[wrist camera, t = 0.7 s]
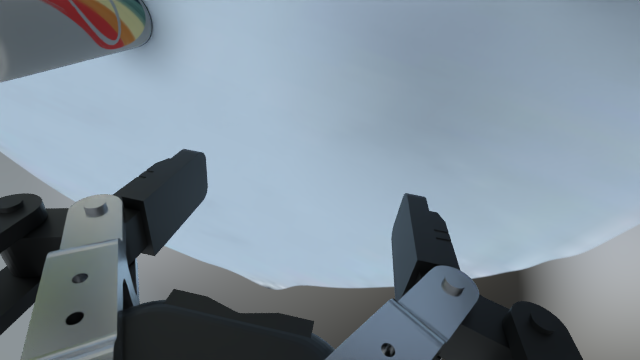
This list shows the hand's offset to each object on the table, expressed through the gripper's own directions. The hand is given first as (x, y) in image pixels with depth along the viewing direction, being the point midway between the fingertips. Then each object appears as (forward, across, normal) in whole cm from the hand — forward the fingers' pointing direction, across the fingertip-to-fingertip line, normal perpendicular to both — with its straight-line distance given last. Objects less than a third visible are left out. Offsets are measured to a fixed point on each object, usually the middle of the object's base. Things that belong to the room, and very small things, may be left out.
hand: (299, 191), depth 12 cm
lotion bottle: (+23, +24, -2) cm, 33 cm away
